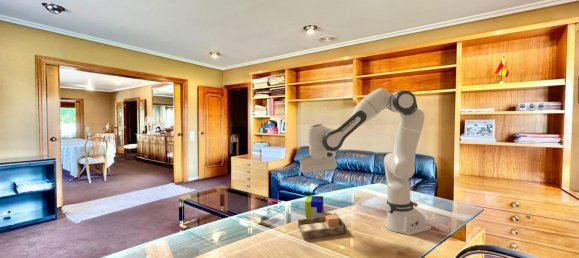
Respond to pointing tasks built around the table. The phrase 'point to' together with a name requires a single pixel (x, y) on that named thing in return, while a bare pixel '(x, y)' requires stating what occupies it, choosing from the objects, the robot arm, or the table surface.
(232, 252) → the table surface
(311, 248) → the table surface
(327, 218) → the block
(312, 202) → the puzzle toy
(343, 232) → the box
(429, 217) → the table surface
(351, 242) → the table surface
